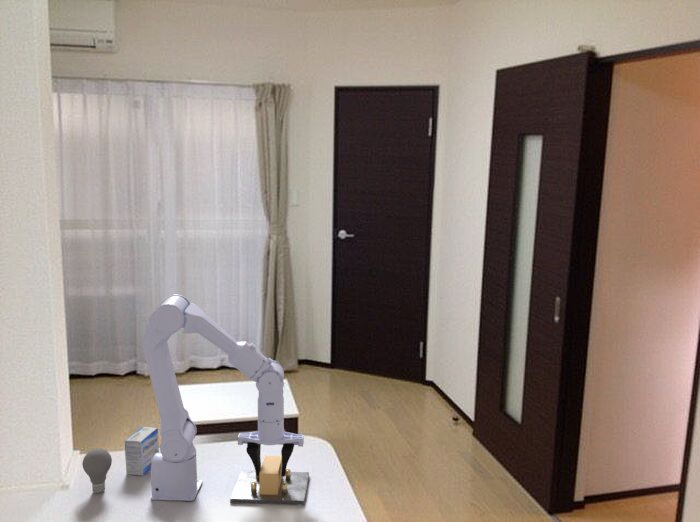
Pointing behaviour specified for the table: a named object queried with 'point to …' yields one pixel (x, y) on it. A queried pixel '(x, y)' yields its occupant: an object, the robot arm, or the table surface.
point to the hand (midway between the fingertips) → (271, 473)
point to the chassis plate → (288, 494)
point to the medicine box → (141, 450)
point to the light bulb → (97, 467)
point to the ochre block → (270, 475)
